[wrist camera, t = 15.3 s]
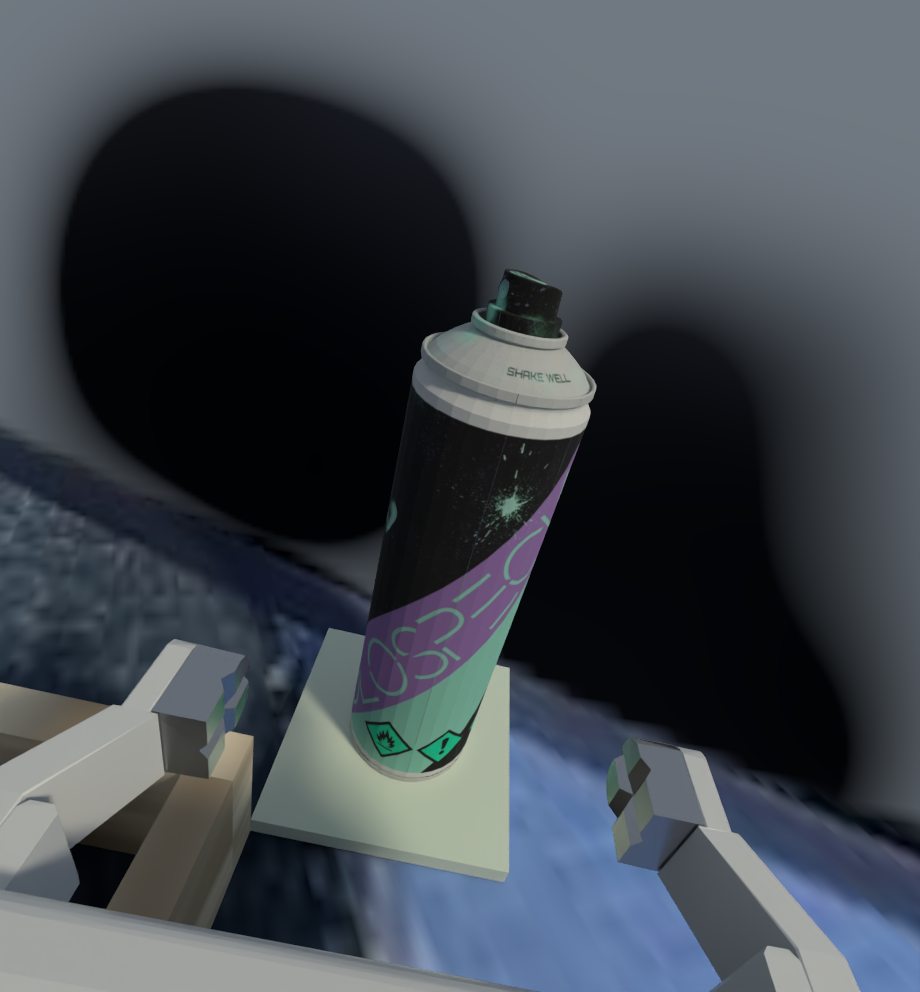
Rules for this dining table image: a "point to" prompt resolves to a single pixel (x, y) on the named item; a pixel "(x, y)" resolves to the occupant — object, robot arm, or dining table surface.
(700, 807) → the robot arm
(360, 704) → the spray can
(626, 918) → the dining table surface
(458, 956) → the dining table surface
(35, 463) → the dining table surface
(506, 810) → the sage pad
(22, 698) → the can holder
